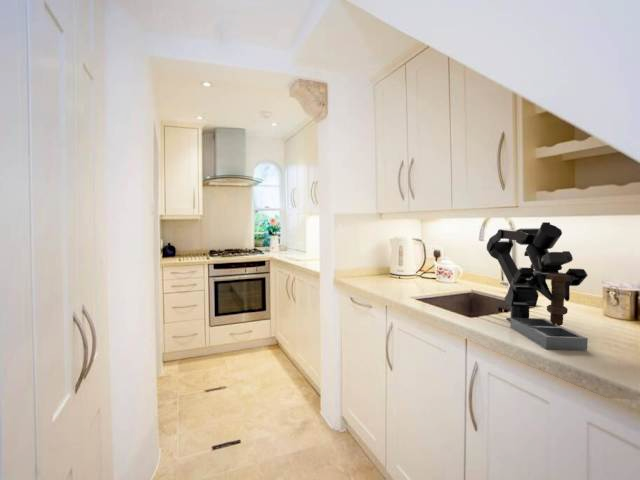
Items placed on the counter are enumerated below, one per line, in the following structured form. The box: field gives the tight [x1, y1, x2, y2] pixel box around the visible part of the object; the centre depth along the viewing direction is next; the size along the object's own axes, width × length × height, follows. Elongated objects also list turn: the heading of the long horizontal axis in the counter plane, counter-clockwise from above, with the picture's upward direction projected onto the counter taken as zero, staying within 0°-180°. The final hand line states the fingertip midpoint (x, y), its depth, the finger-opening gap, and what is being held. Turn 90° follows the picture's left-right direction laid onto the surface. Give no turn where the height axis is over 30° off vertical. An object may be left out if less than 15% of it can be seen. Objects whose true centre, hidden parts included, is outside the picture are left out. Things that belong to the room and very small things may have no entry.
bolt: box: [546, 273, 571, 326], centre depth 96 cm, size 6×5×15 cm
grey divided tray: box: [510, 317, 589, 352], centre depth 101 cm, size 20×11×4 cm, turn 175°
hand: (559, 300), depth 95 cm, fingers closed on bolt, 4 cm apart
